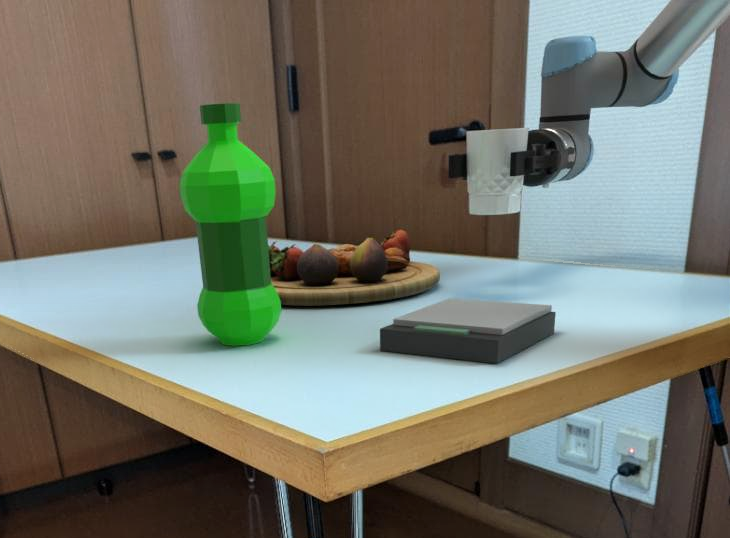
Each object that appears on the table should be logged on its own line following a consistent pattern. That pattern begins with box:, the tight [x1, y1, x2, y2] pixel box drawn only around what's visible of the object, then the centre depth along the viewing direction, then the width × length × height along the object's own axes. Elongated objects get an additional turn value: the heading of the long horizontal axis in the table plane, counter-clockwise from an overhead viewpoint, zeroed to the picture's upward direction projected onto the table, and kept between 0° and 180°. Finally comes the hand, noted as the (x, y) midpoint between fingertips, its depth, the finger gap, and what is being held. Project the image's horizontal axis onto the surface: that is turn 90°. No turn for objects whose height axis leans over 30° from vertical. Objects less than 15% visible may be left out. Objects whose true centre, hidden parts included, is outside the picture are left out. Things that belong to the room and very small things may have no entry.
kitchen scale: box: [379, 297, 557, 365], centre depth 89 cm, size 14×15×3 cm
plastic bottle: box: [179, 102, 282, 347], centre depth 91 cm, size 10×10×25 cm
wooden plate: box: [268, 229, 441, 307], centre depth 124 cm, size 32×32×8 cm
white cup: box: [465, 127, 530, 216], centre depth 105 cm, size 8×8×10 cm
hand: (481, 165), depth 101 cm, fingers closed on white cup, 8 cm apart
